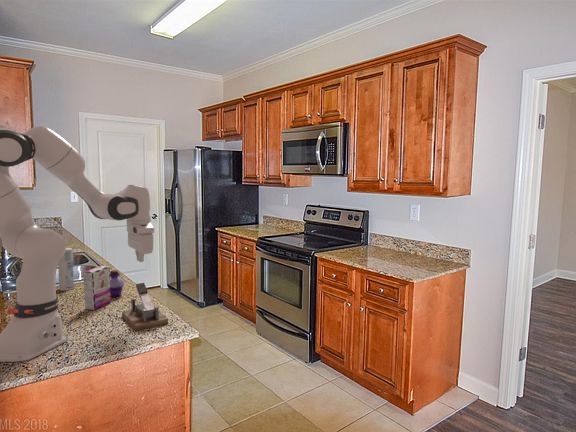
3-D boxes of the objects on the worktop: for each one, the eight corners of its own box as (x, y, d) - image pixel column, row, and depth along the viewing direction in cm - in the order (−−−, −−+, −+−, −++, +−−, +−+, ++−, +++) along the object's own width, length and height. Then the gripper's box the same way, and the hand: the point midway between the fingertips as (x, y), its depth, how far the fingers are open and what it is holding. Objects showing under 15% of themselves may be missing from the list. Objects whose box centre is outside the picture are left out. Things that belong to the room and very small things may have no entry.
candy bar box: (101, 301, 174) (100, 265, 172) (111, 302, 173) (110, 266, 171) (84, 309, 163) (82, 271, 161) (94, 310, 162) (93, 272, 160)
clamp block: (158, 319, 147) (158, 306, 147) (143, 322, 144) (143, 309, 143) (145, 308, 160) (145, 296, 159) (131, 310, 156) (130, 298, 156)
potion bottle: (100, 297, 179) (99, 271, 178) (114, 292, 187) (113, 267, 186) (115, 299, 176) (114, 273, 175) (129, 294, 184) (128, 269, 183)
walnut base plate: (168, 323, 149) (168, 318, 148) (136, 330, 141) (135, 325, 141) (152, 310, 163) (152, 305, 162) (122, 316, 155) (122, 311, 155)
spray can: (68, 290, 188) (66, 250, 186) (56, 290, 189) (54, 250, 187) (77, 287, 195) (75, 247, 193) (64, 286, 195) (62, 247, 193)
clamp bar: (154, 310, 147) (154, 308, 146) (146, 312, 145) (146, 309, 144) (143, 285, 156) (143, 282, 155) (135, 286, 154) (136, 283, 153)
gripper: (123, 224, 158) (124, 257, 159) (138, 230, 141) (140, 267, 143) (139, 223, 161) (140, 255, 163) (155, 228, 145) (157, 265, 147)
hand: (140, 261), depth 153 cm, fingers closed
